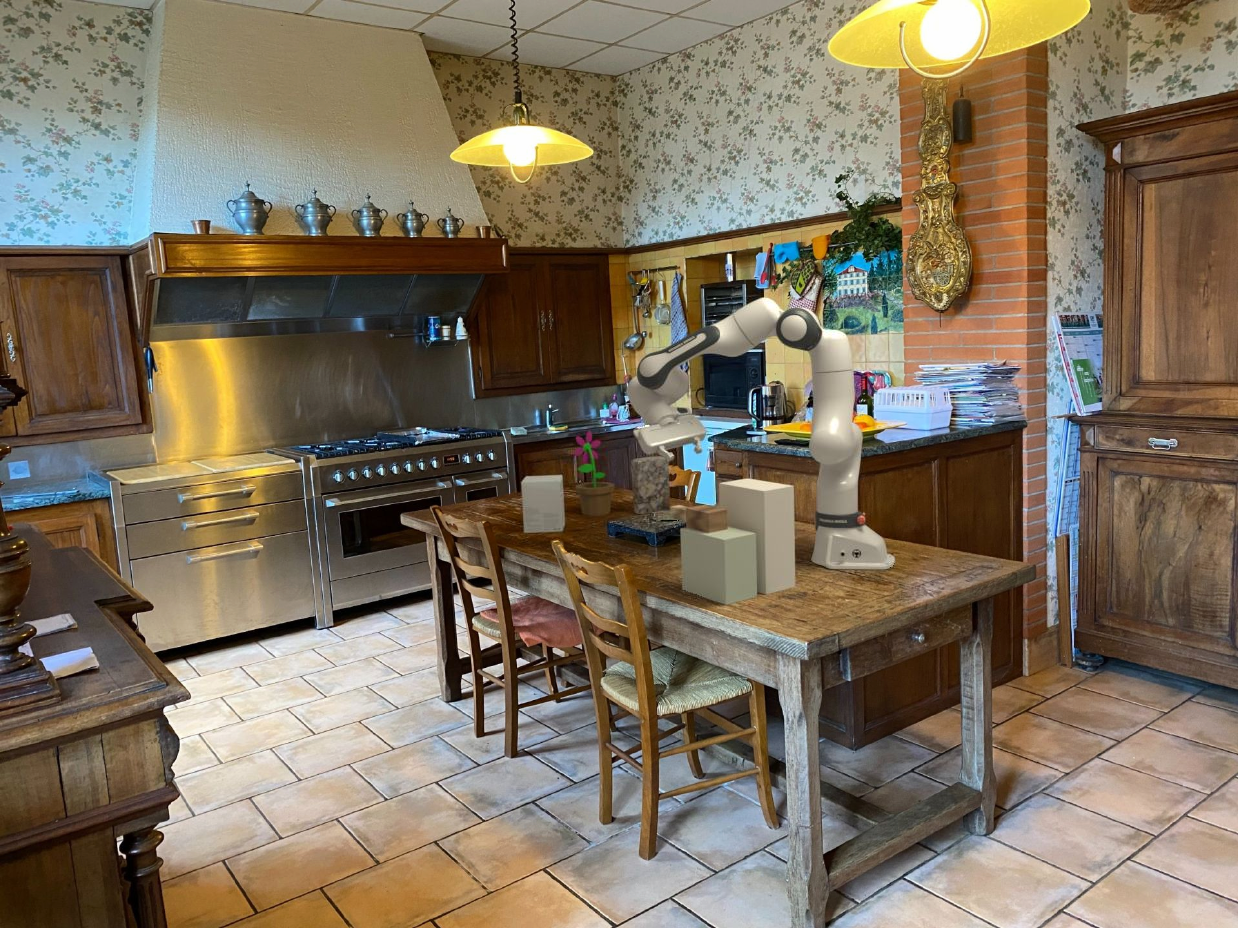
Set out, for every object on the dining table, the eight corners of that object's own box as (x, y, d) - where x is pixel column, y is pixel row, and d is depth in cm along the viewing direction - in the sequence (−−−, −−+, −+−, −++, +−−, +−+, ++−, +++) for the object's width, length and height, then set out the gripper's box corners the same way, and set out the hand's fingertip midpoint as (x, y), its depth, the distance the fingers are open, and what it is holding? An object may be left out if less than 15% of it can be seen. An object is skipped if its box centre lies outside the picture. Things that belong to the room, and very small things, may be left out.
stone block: (640, 515, 327) (638, 460, 324) (631, 512, 333) (629, 458, 331) (672, 511, 333) (670, 457, 331) (662, 508, 340) (660, 455, 337)
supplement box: (565, 523, 320) (563, 474, 317) (562, 531, 307) (560, 480, 304) (528, 525, 320) (525, 475, 318) (523, 533, 307) (520, 482, 304)
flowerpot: (600, 507, 346) (597, 428, 342) (623, 512, 335) (619, 431, 330) (569, 513, 338) (565, 432, 334) (591, 518, 326) (587, 435, 322)
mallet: (666, 522, 239) (665, 503, 238) (684, 518, 242) (683, 500, 242) (709, 533, 225) (708, 513, 224) (727, 529, 228) (727, 509, 227)
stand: (682, 589, 233) (679, 489, 229) (749, 573, 246) (747, 478, 242) (726, 604, 219) (723, 498, 215) (795, 586, 232) (793, 485, 228)
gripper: (632, 420, 254) (657, 456, 246) (693, 406, 263) (718, 440, 256) (628, 436, 258) (651, 471, 251) (687, 421, 268) (712, 455, 260)
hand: (685, 455), depth 253 cm, fingers open, 8 cm apart
